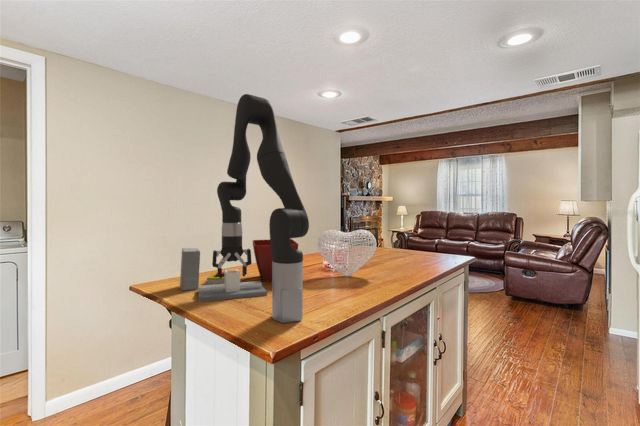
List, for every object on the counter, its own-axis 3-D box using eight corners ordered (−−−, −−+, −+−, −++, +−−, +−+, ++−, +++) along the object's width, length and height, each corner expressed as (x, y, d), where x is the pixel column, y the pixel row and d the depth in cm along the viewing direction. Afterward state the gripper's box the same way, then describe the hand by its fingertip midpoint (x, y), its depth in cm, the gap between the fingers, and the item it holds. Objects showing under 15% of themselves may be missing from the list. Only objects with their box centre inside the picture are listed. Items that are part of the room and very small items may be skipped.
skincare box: (179, 286, 134) (179, 248, 133) (198, 284, 137) (197, 247, 137) (181, 291, 126) (181, 250, 126) (200, 289, 130) (200, 249, 129)
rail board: (267, 295, 122) (267, 291, 122) (198, 301, 113) (198, 297, 113) (259, 286, 135) (259, 282, 135) (198, 291, 126) (198, 287, 126)
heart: (319, 281, 144) (320, 231, 144) (315, 273, 160) (315, 228, 159) (380, 279, 148) (381, 231, 147) (370, 272, 164) (371, 228, 163)
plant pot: (254, 284, 138) (254, 244, 137) (252, 274, 156) (252, 239, 156) (298, 282, 143) (298, 243, 142) (291, 272, 161) (291, 238, 161)
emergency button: (208, 270, 146) (242, 270, 147) (208, 280, 146) (242, 280, 147) (202, 275, 137) (238, 275, 138) (202, 285, 137) (238, 285, 138)
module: (224, 287, 126) (224, 269, 126) (237, 286, 128) (237, 268, 128) (226, 292, 120) (226, 273, 120) (239, 291, 122) (239, 272, 122)
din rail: (261, 288, 126) (261, 282, 126) (201, 293, 118) (201, 287, 118) (259, 285, 130) (259, 280, 130) (201, 290, 122) (201, 285, 122)
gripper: (249, 233, 130) (249, 273, 130) (211, 234, 124) (212, 276, 125) (252, 234, 123) (252, 277, 123) (212, 236, 117) (213, 280, 118)
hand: (232, 276), depth 124 cm, fingers open, 8 cm apart
